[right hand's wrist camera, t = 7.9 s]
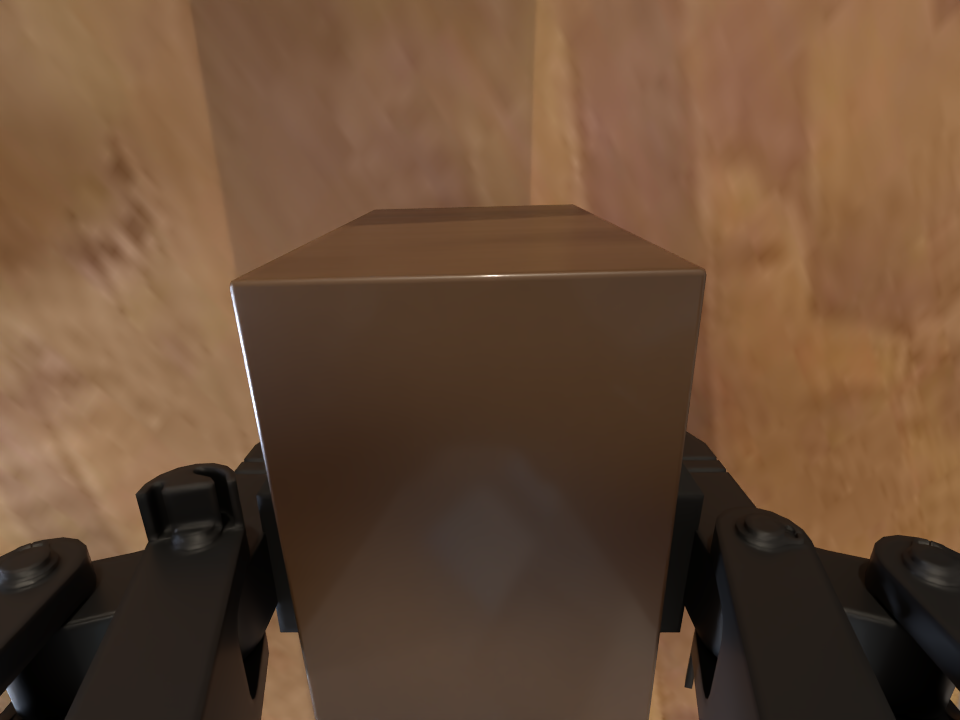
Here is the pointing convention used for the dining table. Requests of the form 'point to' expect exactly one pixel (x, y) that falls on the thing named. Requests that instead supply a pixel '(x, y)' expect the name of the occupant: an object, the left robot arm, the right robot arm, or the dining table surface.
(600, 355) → the bar
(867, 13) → the dining table surface
